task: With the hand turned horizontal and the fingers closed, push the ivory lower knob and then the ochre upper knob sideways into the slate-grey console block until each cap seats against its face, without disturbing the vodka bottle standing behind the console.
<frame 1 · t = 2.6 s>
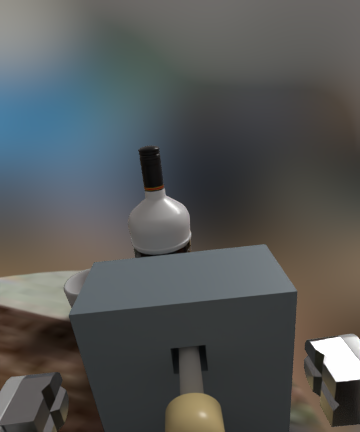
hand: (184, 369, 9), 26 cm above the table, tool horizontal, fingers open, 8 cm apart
knob upper: (190, 367, 24), point 14 cm above the table, slide at 0.0 cm
cup: (101, 321, 51), on the table
vodka: (175, 335, 46), on the table
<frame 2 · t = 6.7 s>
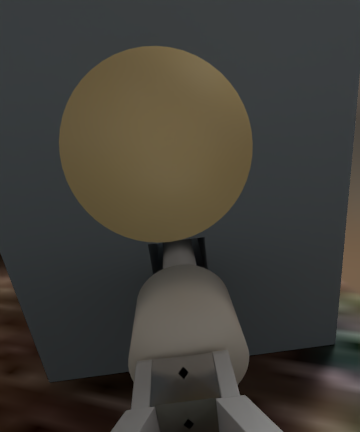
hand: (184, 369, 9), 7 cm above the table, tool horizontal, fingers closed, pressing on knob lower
knob upper: (161, 132, 12), point 14 cm above the table, slide at 0.0 cm
knob lower: (179, 262, 16), point 7 cm above the table, slide at 1.1 cm, touching gripper
console: (192, 363, 18), on the table
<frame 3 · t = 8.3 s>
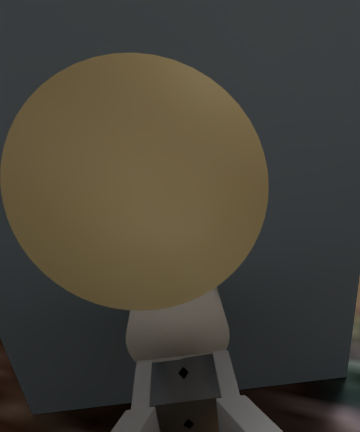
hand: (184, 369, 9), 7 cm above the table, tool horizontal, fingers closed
knob upper: (154, 147, 11), point 14 cm above the table, slide at 0.0 cm
knob lower: (173, 255, 17), point 7 cm above the table, slide at 4.5 cm, touching console
console: (189, 395, 16), on the table
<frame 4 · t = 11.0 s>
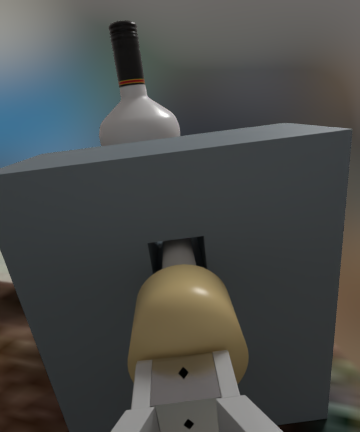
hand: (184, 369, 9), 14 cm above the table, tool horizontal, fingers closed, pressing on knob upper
knob upper: (178, 262, 16), point 14 cm above the table, slide at 1.0 cm, touching gripper
vodka: (166, 294, 37), on the table
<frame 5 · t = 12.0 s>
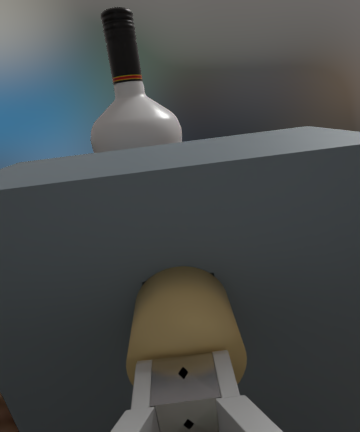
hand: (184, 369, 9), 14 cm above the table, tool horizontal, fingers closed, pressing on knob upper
knob upper: (178, 263, 16), point 14 cm above the table, slide at 4.5 cm, touching console, gripper
vodka: (166, 312, 34), on the table
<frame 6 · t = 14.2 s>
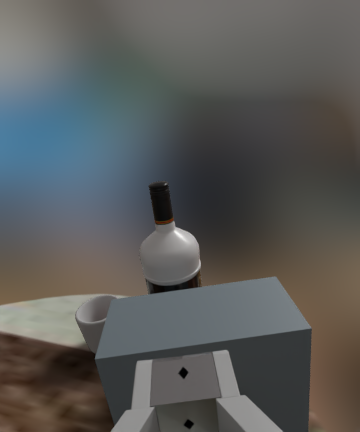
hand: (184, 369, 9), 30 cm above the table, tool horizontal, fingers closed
cup: (112, 347, 52), on the table
vodka: (186, 361, 47), on the table
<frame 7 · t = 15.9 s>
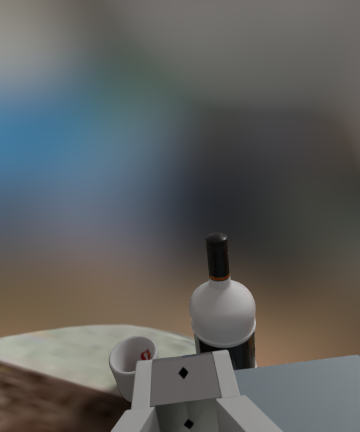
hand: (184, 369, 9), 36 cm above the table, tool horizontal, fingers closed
cup: (146, 393, 48), on the table
vodka: (229, 414, 44), on the table
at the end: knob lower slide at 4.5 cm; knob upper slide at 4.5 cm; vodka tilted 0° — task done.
